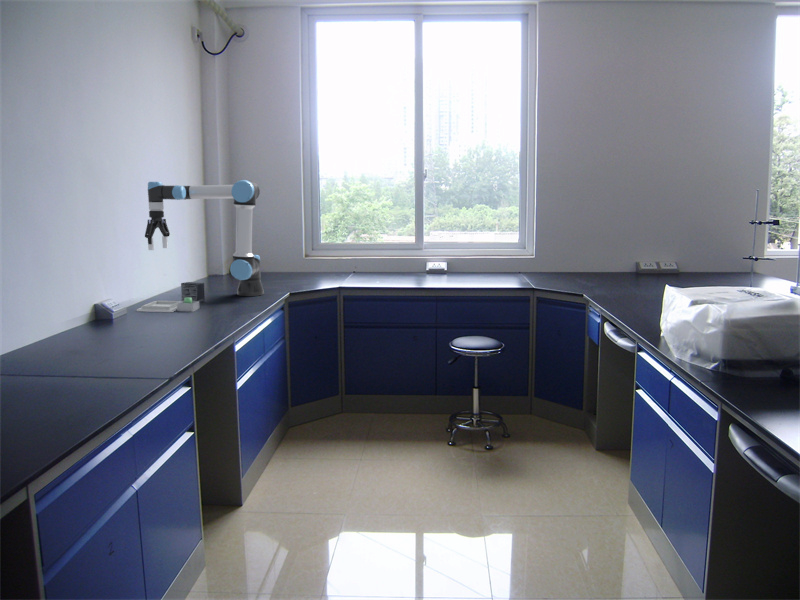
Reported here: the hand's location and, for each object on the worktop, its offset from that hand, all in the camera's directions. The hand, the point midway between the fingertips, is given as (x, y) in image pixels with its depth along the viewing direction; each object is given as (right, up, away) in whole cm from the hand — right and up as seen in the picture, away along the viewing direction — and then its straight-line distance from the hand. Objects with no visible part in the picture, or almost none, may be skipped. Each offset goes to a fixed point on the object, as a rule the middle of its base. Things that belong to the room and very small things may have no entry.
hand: (158, 249), depth 344 cm
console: (+28, -33, -34) cm, 55 cm away
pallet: (+14, -32, -31) cm, 47 cm away
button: (+28, -31, -34) cm, 54 cm away
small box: (+23, -30, -12) cm, 39 cm away
